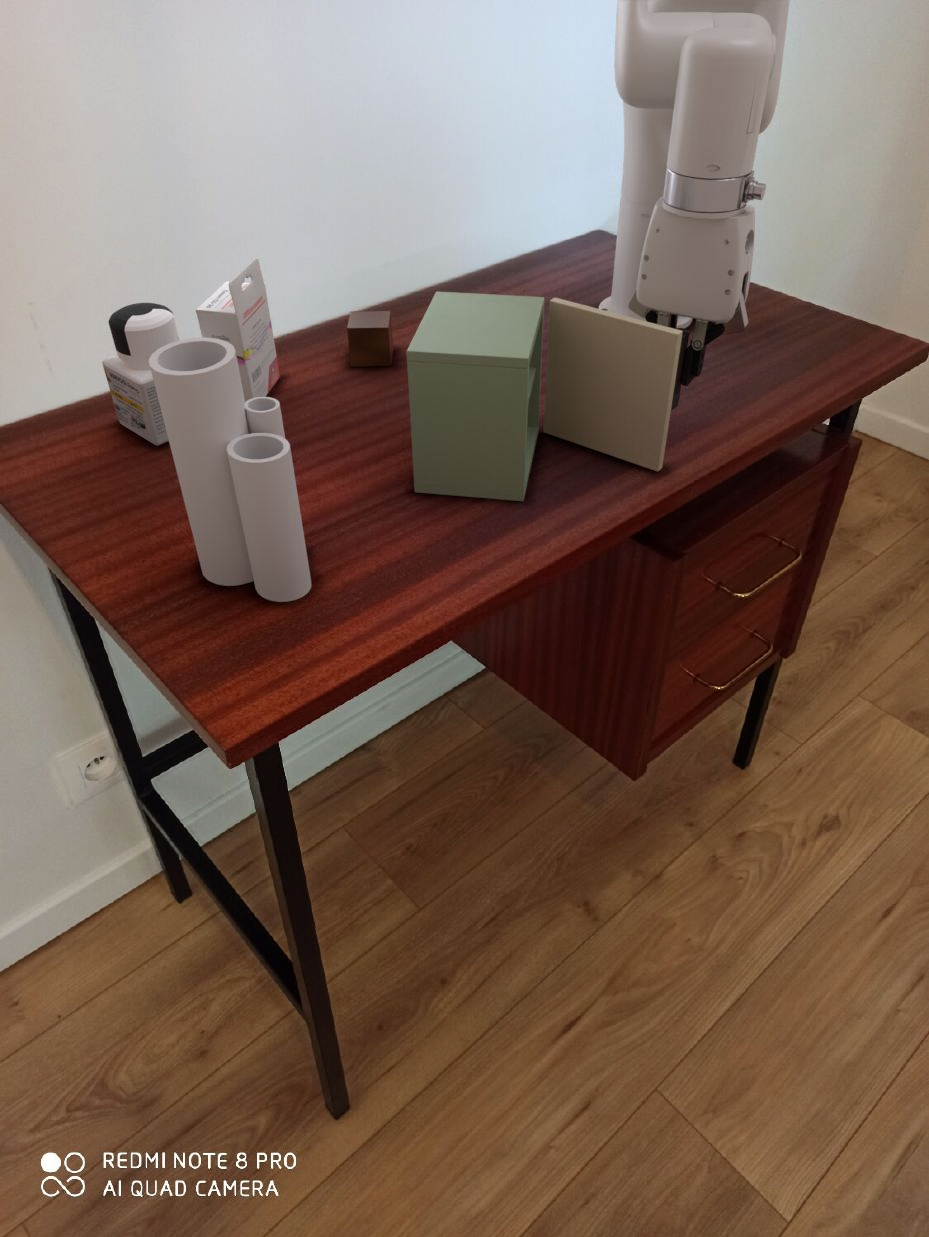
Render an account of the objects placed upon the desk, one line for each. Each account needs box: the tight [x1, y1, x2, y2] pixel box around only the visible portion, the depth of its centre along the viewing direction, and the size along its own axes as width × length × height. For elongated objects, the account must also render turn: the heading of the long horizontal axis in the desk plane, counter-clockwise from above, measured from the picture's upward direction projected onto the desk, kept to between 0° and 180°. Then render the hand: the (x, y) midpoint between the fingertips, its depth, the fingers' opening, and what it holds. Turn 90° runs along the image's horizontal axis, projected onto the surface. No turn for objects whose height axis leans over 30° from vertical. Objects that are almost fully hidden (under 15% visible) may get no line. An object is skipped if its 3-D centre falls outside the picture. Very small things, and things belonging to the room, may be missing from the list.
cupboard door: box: [542, 297, 691, 472], centre depth 94 cm, size 7×14×15 cm, turn 53°
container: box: [101, 302, 180, 446], centre depth 98 cm, size 8×8×13 cm
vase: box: [149, 337, 312, 603], centre depth 76 cm, size 11×7×20 cm, turn 67°
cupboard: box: [406, 291, 546, 502], centre depth 91 cm, size 11×14×15 cm
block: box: [346, 310, 394, 368], centre depth 113 cm, size 5×5×5 cm
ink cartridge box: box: [195, 257, 281, 402], centre depth 103 cm, size 9×5×15 cm, turn 168°
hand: (677, 377), depth 95 cm, fingers closed on cupboard door
